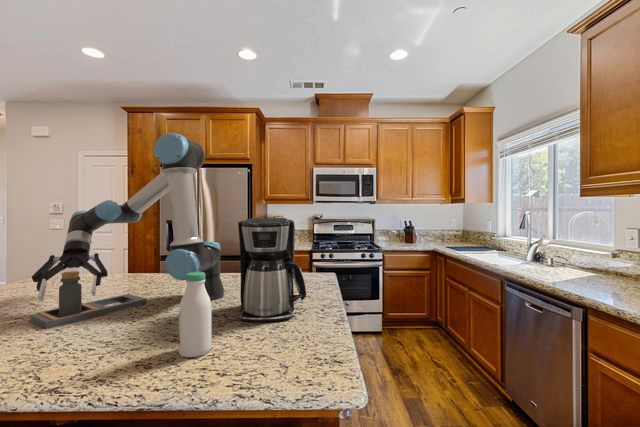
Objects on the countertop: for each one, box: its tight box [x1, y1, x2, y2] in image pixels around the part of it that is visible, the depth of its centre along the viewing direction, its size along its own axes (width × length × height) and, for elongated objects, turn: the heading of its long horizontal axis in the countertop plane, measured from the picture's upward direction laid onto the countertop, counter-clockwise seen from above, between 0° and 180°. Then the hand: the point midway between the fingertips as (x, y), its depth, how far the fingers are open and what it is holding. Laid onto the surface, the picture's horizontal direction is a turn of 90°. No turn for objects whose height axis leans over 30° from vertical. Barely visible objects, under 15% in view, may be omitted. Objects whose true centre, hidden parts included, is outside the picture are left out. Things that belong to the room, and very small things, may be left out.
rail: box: [29, 293, 147, 330], centre depth 107 cm, size 13×30×2 cm, turn 149°
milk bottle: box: [178, 272, 212, 358], centre depth 77 cm, size 8×8×20 cm
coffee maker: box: [237, 217, 307, 323], centre depth 112 cm, size 23×32×34 cm
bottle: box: [58, 270, 83, 317], centre depth 102 cm, size 6×6×15 cm
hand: (67, 296), depth 99 cm, fingers open, 13 cm apart
